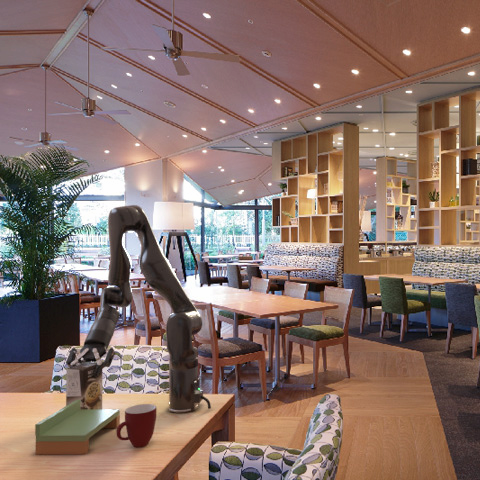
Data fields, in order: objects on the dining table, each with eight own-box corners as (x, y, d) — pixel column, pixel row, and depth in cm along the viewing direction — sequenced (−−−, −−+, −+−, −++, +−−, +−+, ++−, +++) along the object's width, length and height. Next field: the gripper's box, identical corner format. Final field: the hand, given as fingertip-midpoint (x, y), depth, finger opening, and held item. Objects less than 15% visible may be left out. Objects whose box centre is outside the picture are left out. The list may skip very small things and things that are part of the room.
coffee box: (82, 420, 154) (82, 369, 154) (65, 419, 155) (65, 368, 155) (103, 410, 163) (103, 362, 162) (86, 409, 164) (86, 361, 164)
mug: (127, 456, 129) (127, 418, 129) (110, 449, 133) (110, 412, 133) (162, 442, 138) (162, 407, 138) (145, 436, 142) (145, 402, 142)
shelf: (119, 425, 150) (119, 399, 150) (84, 454, 130) (85, 424, 130) (76, 425, 150) (76, 399, 150) (35, 454, 130) (35, 424, 130)
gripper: (75, 328, 166) (54, 371, 154) (117, 328, 166) (100, 371, 155) (83, 340, 171) (64, 383, 160) (124, 340, 172) (108, 383, 160)
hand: (82, 377), depth 157 cm, fingers closed on coffee box, 7 cm apart
